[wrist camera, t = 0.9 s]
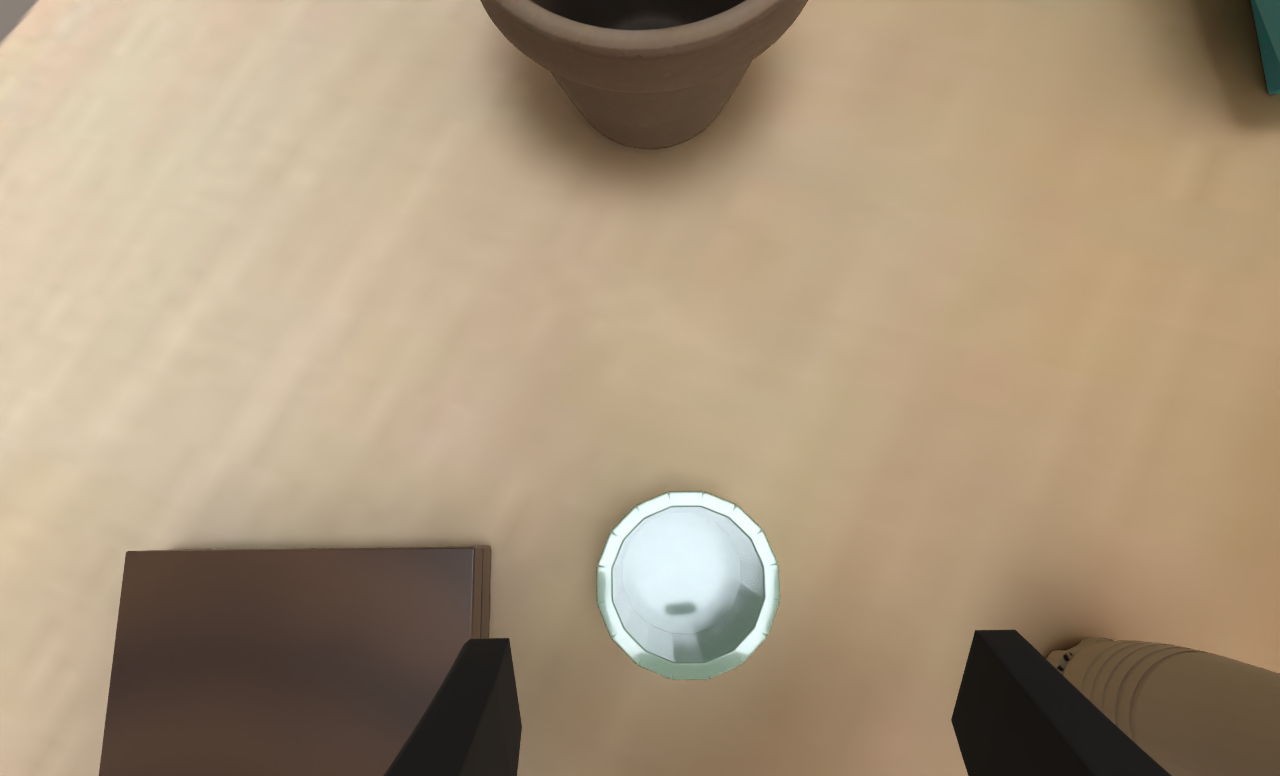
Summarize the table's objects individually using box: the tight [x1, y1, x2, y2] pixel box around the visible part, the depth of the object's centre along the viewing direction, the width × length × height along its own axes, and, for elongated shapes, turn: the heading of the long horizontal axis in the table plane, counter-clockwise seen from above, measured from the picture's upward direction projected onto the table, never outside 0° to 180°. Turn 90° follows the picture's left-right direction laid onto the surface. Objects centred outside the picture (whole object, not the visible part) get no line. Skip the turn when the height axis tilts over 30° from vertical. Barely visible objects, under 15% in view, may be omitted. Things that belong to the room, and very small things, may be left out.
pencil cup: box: [597, 491, 780, 680], centre depth 24 cm, size 5×5×6 cm
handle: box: [1046, 637, 1280, 776], centre depth 18 cm, size 5×6×15 cm
